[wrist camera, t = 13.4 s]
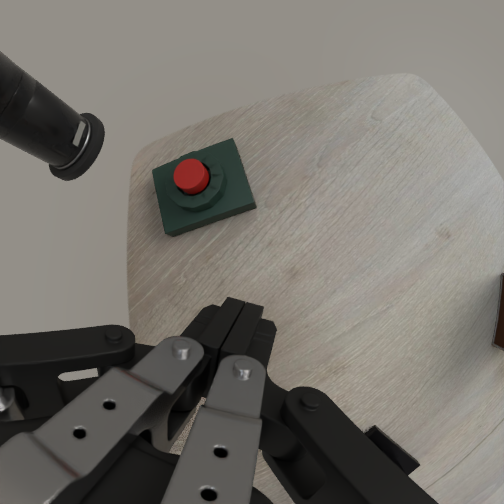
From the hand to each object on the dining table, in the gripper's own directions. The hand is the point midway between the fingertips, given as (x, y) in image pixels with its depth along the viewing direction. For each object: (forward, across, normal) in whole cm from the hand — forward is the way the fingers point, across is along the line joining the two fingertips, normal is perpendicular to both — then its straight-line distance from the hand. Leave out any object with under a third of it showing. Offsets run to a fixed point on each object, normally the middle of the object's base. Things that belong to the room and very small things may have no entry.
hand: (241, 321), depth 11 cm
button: (+17, +10, -4) cm, 20 cm away
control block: (+20, +10, -3) cm, 23 cm away
